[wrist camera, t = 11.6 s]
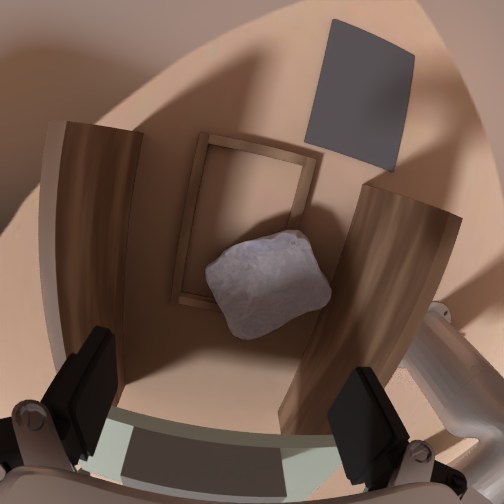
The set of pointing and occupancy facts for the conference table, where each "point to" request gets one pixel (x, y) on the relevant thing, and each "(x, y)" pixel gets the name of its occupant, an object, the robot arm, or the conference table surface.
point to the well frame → (112, 291)
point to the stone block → (267, 283)
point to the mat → (361, 96)
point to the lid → (211, 460)
